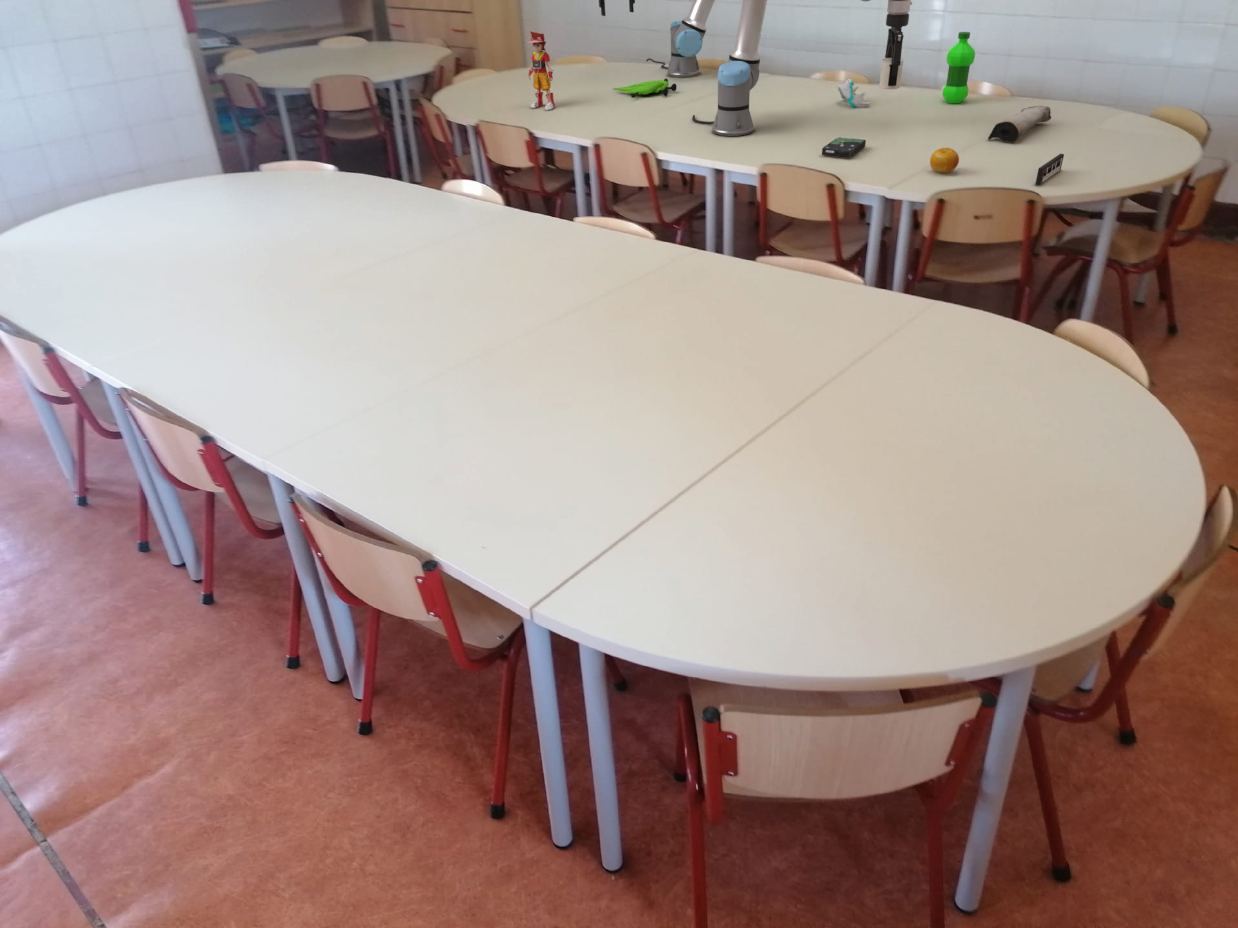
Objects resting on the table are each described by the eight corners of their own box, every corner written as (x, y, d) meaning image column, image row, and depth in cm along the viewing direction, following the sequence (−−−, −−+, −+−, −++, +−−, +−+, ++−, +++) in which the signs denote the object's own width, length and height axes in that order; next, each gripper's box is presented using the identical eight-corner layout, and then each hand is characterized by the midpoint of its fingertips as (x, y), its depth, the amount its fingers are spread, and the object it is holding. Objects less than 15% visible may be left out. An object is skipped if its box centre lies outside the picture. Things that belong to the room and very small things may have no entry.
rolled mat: (1018, 110, 327) (1042, 93, 319) (1032, 131, 328) (1056, 115, 319) (983, 133, 310) (1008, 115, 302) (998, 155, 310) (1023, 138, 302)
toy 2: (686, 85, 398) (631, 84, 414) (685, 72, 395) (629, 72, 411) (651, 104, 381) (596, 103, 397) (650, 92, 378) (594, 91, 394)
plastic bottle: (973, 101, 354) (984, 32, 339) (955, 106, 349) (966, 36, 335) (952, 97, 361) (962, 29, 346) (934, 102, 356) (944, 33, 342)
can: (903, 86, 324) (907, 59, 319) (893, 90, 320) (897, 62, 315) (885, 84, 328) (888, 57, 323) (875, 88, 324) (878, 60, 319)
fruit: (924, 163, 281) (941, 140, 278) (925, 165, 289) (941, 143, 286) (946, 178, 280) (963, 155, 277) (947, 180, 288) (963, 158, 285)
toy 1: (525, 109, 381) (517, 32, 364) (534, 104, 388) (527, 28, 371) (550, 110, 377) (543, 32, 360) (559, 105, 384) (553, 28, 367)
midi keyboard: (1039, 185, 269) (1043, 168, 266) (1035, 184, 270) (1038, 168, 267) (1060, 170, 279) (1064, 154, 277) (1056, 169, 280) (1060, 153, 277)
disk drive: (850, 159, 300) (865, 147, 310) (851, 151, 299) (866, 139, 309) (821, 156, 305) (836, 144, 315) (821, 148, 303) (837, 136, 313)
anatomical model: (833, 78, 362) (858, 71, 361) (836, 104, 368) (860, 97, 367) (844, 86, 350) (869, 79, 349) (846, 113, 356) (871, 106, 355)
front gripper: (915, 17, 302) (906, 89, 315) (903, 8, 318) (894, 76, 331) (892, 18, 302) (884, 90, 315) (881, 9, 319) (874, 77, 332)
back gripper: (591, -38, 375) (594, 18, 387) (645, -44, 383) (646, 11, 395) (584, -39, 381) (588, 16, 393) (637, -45, 388) (639, 9, 401)
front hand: (889, 83), depth 323 cm, fingers closed on can, 7 cm apart
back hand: (617, 14), depth 394 cm, fingers open, 13 cm apart
